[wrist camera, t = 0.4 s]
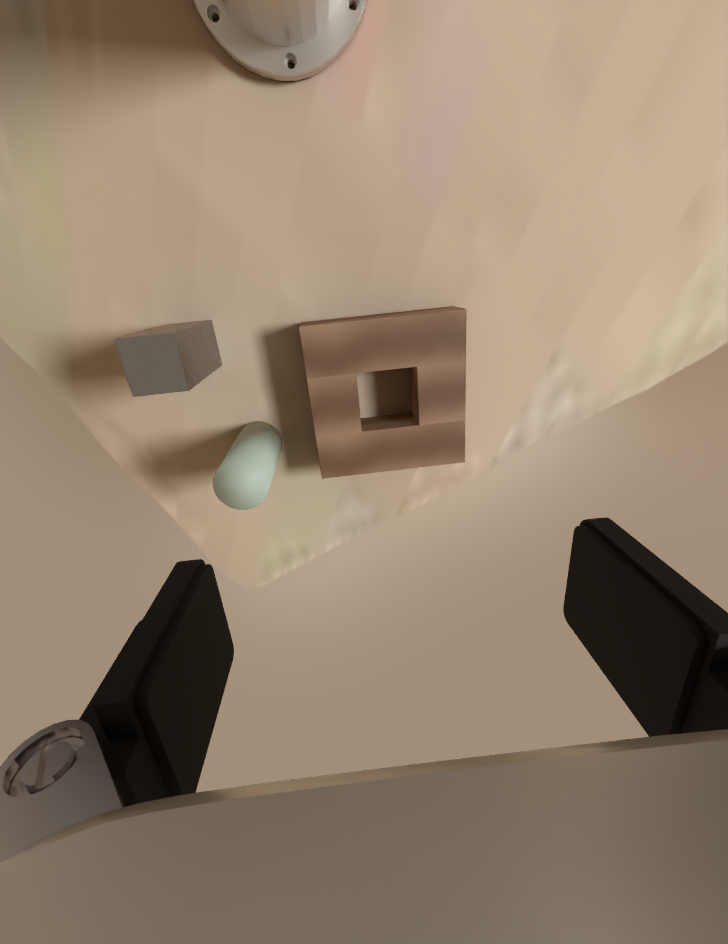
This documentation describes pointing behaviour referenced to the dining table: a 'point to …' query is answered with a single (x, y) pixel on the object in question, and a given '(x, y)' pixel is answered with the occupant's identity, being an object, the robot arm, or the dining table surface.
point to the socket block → (384, 348)
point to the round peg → (248, 467)
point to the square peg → (169, 357)
